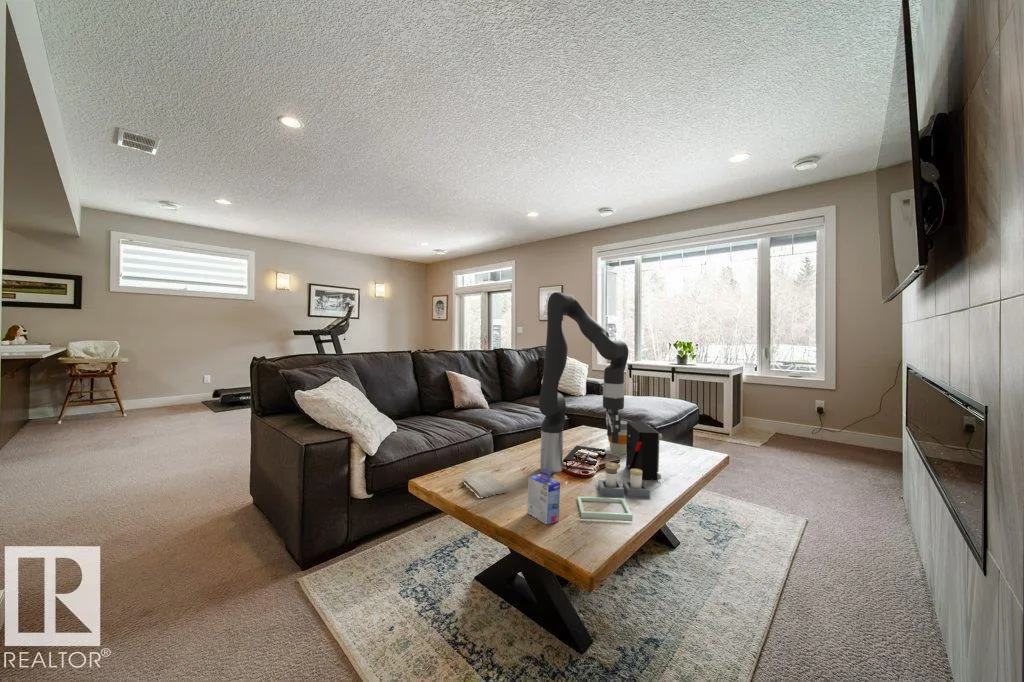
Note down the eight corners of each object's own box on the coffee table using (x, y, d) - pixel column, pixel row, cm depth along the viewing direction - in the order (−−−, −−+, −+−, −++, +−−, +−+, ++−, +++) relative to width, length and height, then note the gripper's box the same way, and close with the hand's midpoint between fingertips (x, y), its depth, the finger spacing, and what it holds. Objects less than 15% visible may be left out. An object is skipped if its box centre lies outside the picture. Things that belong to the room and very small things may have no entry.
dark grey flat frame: (562, 465, 170) (563, 459, 170) (575, 451, 191) (576, 445, 191) (594, 471, 164) (595, 464, 164) (604, 455, 186) (604, 449, 186)
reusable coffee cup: (602, 451, 191) (602, 421, 190) (613, 445, 200) (613, 417, 200) (626, 456, 183) (626, 425, 182) (636, 450, 192) (637, 421, 192)
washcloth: (487, 477, 156) (487, 470, 156) (509, 494, 140) (509, 486, 140) (460, 483, 150) (460, 475, 150) (479, 501, 134) (479, 492, 134)
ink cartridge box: (560, 520, 120) (561, 475, 120) (547, 526, 117) (548, 479, 116) (539, 508, 128) (540, 465, 128) (526, 513, 125) (527, 469, 124)
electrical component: (662, 483, 152) (663, 433, 151) (636, 482, 152) (637, 432, 151) (647, 467, 169) (648, 422, 169) (624, 466, 169) (625, 421, 169)
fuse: (605, 493, 139) (606, 465, 138) (604, 488, 143) (604, 462, 143) (617, 493, 138) (618, 466, 138) (615, 489, 143) (616, 462, 142)
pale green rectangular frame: (581, 518, 122) (581, 512, 122) (577, 501, 134) (577, 496, 134) (632, 521, 121) (632, 514, 121) (623, 504, 133) (624, 498, 132)
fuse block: (599, 499, 136) (599, 474, 135) (594, 487, 147) (595, 463, 146) (651, 502, 134) (651, 476, 134) (642, 489, 145) (643, 465, 145)
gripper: (599, 391, 147) (598, 433, 148) (606, 398, 133) (605, 444, 133) (619, 392, 147) (618, 434, 147) (628, 398, 133) (627, 445, 133)
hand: (612, 439), depth 140 cm, fingers open, 8 cm apart
